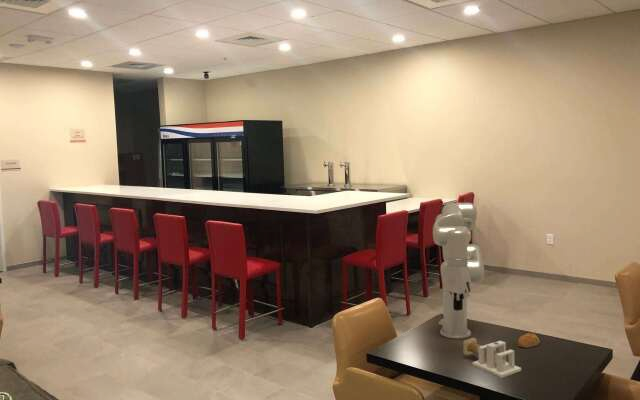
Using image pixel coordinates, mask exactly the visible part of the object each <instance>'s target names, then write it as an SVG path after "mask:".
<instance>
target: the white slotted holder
mask: <svg viewBox="0 0 640 400" xmlns="http://www.w3.org/2000/svg"><path fill="white" fill-rule="evenodd" d="M486 348H487V358H485V354H484V349H486ZM497 348H498V349H497ZM497 350H498V352H499V353H498V354H496V362H497V363H496V362H494V351H497ZM503 356H505V357H506V359H505V362H504V363H503ZM507 356H508V359H507ZM515 358H516V357H515V350H513V349H508V350H507V342H505V341H502V340H498V341H495V342H490V343H487V344H484V345H481V346H480V347H479V355H478V360H476V361H472V362H471V364H472V366H474V367H476V368H478V369H481V370H483V371H484V372H487V373H489V374H492V375H494V376H496V377H498V378H501V379H503V378H505V377H509V376H511V375H514V374H516V373H519V372H521V371H522V367H521V366H520V367H519V366H518V365H515V362H516V361H515ZM507 360H508V361H507Z"/></svg>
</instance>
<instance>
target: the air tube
mask: <svg viewBox="0 0 640 400" xmlns="http://www.w3.org/2000/svg"><path fill="white" fill-rule="evenodd" d="M462 345H463V355H466V356H469V355H471V354H475V355H477V356H479V347H480V346H482V345H481V344H479V343H478V342H477V338H475V337H471V338H468V339H465V340H463V343H462ZM498 353H499V351H497V350H496V351H494V362H496V354H498ZM484 354H485V358H487V348H486V349H484ZM505 359H506V360H507V356H506V357H505V356H503V363H504V362H505ZM496 363H497V362H496Z"/></svg>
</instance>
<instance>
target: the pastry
mask: <svg viewBox="0 0 640 400" xmlns="http://www.w3.org/2000/svg"><path fill="white" fill-rule="evenodd" d="M540 342H541V341H540V339H539V337H538V336H537V335H536V334H534V333H532V332H530V333H527V332H526V334H523V335H521V336H520V337H519V338H518V340H517V343H516V344H517V346H518V347H521V348H526V349H527V348H533V347H535V346H538V345H539V344H540Z"/></svg>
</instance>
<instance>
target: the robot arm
mask: <svg viewBox="0 0 640 400" xmlns="http://www.w3.org/2000/svg"><path fill="white" fill-rule="evenodd" d="M477 211H478V210H477V208H476V206H475V205H474V203H472V202H449V203H447V204H444V206H443V207H442V210H441V213H440V214H437V216H436V218H435V222H434V223H433V226H432V239H433V242H434V244H435V245H437V246H441V247H442V259H443V260H444V261H443V262H442V263H441V265H440V275H441V282H442V293H443V295H442V297H443V298H442V300H443V303H442V304H443V305H442V307H443V318H441V319H440V320H439V321H438V325H441V329H440V330H439V333H440V335H441V336H443V337H445V338H449V339H458V340H459V339H466V338H469V337H470V336H472V331H471V330H470V329H469V328H468V311H467V310H468V309H467V308H468V306H467V305H468V303H467V302H468V301H467V298H469V297H470V293H471V289H472V288H471V287H472V284H477V283H482V282H483V281H484V279H485V266H484V260H483V254H482V251H481V247H479V245H477V244H474V243H470V242H471V239H472V234H471V231H473V230H474V229H475V227H476V222H477V216H478V212H477Z"/></svg>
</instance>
